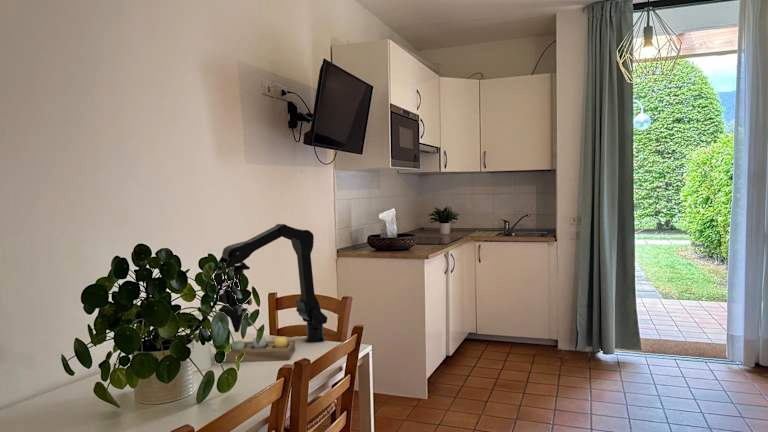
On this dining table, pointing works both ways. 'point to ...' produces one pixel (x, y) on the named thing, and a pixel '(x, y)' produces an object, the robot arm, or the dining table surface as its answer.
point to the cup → (202, 353)
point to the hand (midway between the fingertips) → (236, 332)
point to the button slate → (261, 345)
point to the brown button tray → (262, 352)
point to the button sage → (238, 345)
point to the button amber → (281, 342)
